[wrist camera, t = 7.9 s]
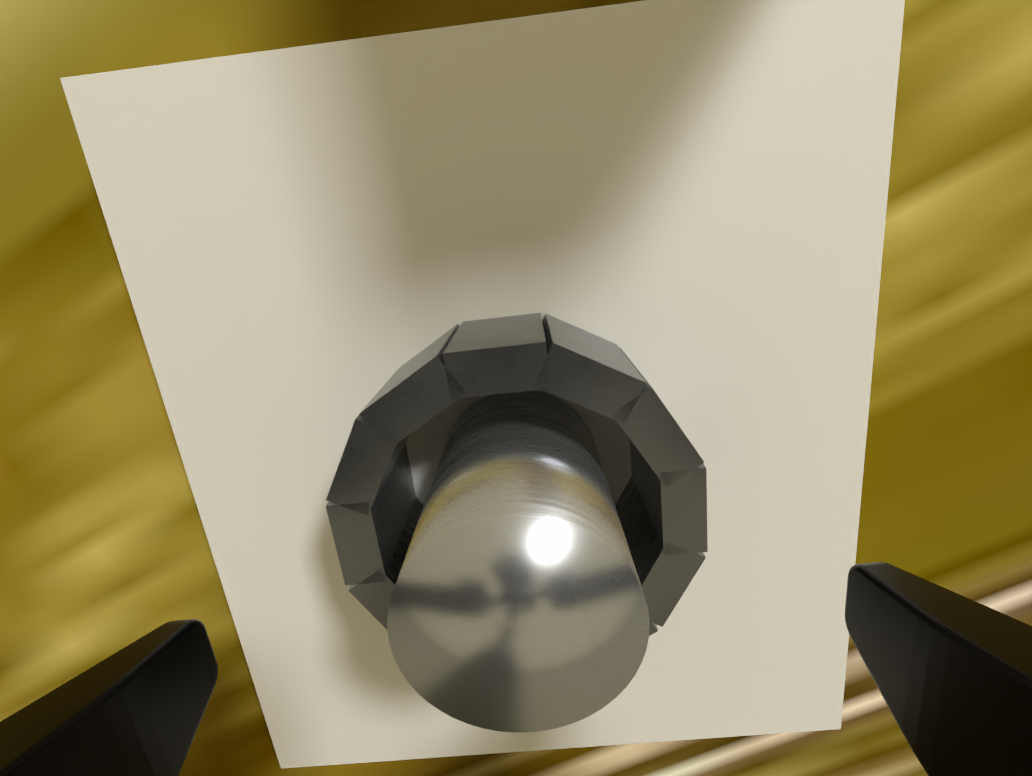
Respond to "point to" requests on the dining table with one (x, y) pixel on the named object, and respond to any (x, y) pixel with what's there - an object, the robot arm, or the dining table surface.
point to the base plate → (517, 291)
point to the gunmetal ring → (507, 369)
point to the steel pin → (519, 574)
